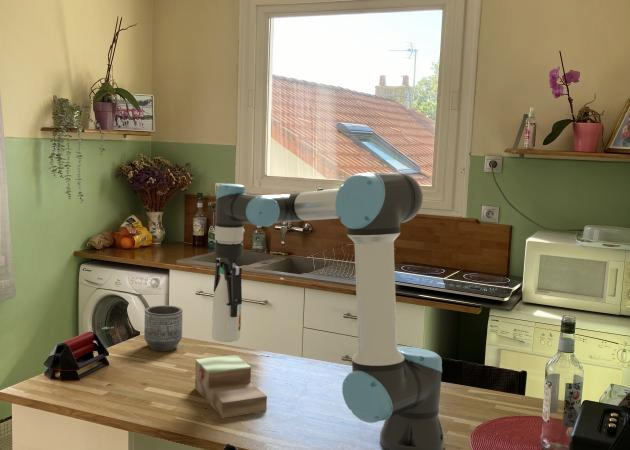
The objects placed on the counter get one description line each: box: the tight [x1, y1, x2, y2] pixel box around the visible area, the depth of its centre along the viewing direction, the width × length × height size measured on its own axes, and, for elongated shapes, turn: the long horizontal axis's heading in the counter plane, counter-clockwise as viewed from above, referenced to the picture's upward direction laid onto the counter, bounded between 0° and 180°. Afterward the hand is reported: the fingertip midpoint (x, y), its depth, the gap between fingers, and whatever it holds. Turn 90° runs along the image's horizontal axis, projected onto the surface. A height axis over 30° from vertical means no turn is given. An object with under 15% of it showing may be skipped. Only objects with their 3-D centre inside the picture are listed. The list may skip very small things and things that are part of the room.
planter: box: [143, 304, 183, 352], centre depth 232 cm, size 12×12×13 cm
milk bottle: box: [211, 267, 242, 343], centre depth 192 cm, size 8×8×20 cm
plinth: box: [194, 354, 268, 419], centre depth 190 cm, size 22×13×8 cm, turn 28°
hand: (226, 323), depth 193 cm, fingers closed on milk bottle, 8 cm apart
